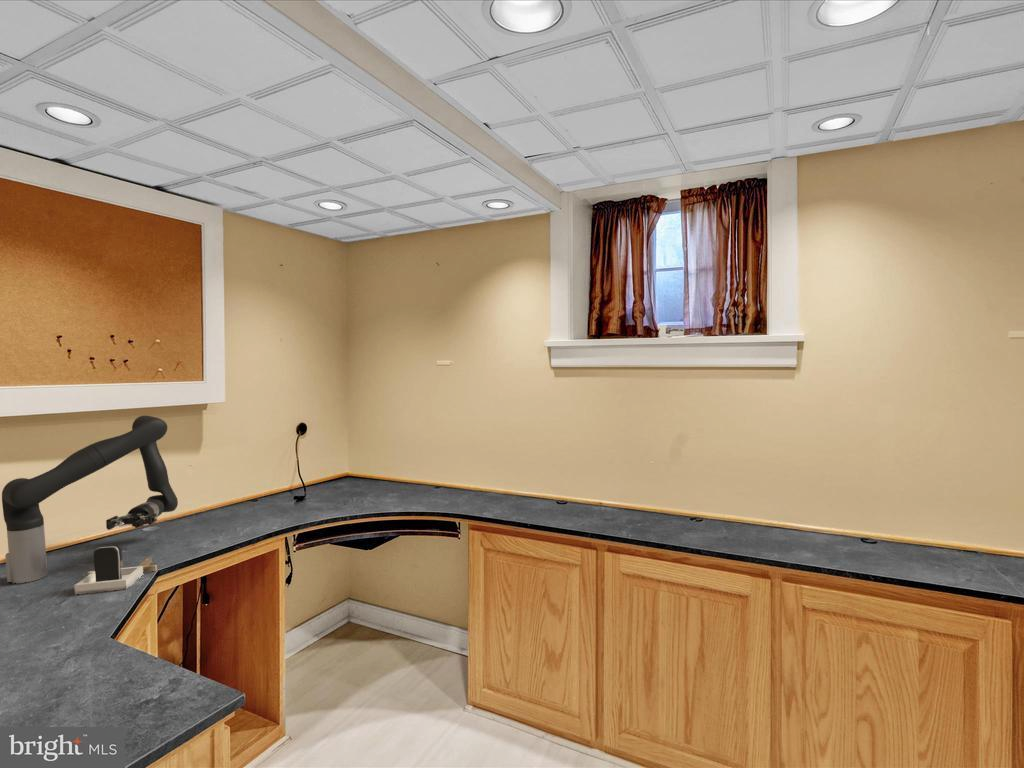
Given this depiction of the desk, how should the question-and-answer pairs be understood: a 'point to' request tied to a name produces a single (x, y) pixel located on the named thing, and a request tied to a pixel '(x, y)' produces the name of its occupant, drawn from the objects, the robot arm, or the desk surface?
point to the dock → (144, 564)
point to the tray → (92, 586)
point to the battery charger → (107, 563)
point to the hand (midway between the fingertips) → (122, 526)
